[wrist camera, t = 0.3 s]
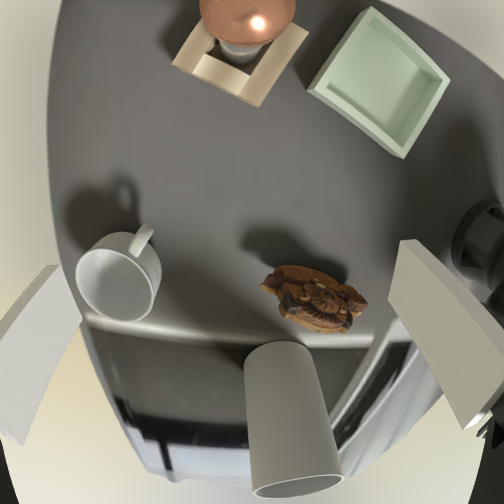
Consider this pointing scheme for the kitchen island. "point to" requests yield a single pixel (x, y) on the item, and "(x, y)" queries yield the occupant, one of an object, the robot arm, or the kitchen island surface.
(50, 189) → the kitchen island surface
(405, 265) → the robot arm
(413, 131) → the tray
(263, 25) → the pin
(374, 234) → the kitchen island surface
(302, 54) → the kitchen island surface
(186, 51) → the block
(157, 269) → the teacup
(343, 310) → the wooden carving
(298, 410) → the cylinder vase
